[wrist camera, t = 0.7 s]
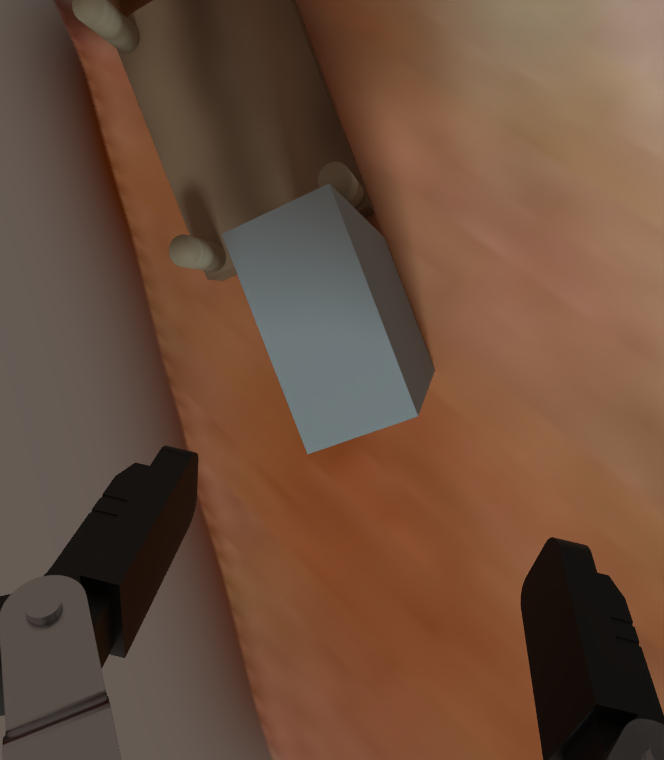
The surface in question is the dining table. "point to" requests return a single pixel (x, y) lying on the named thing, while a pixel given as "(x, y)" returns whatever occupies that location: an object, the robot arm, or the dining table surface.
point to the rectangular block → (332, 317)
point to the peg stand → (230, 113)
